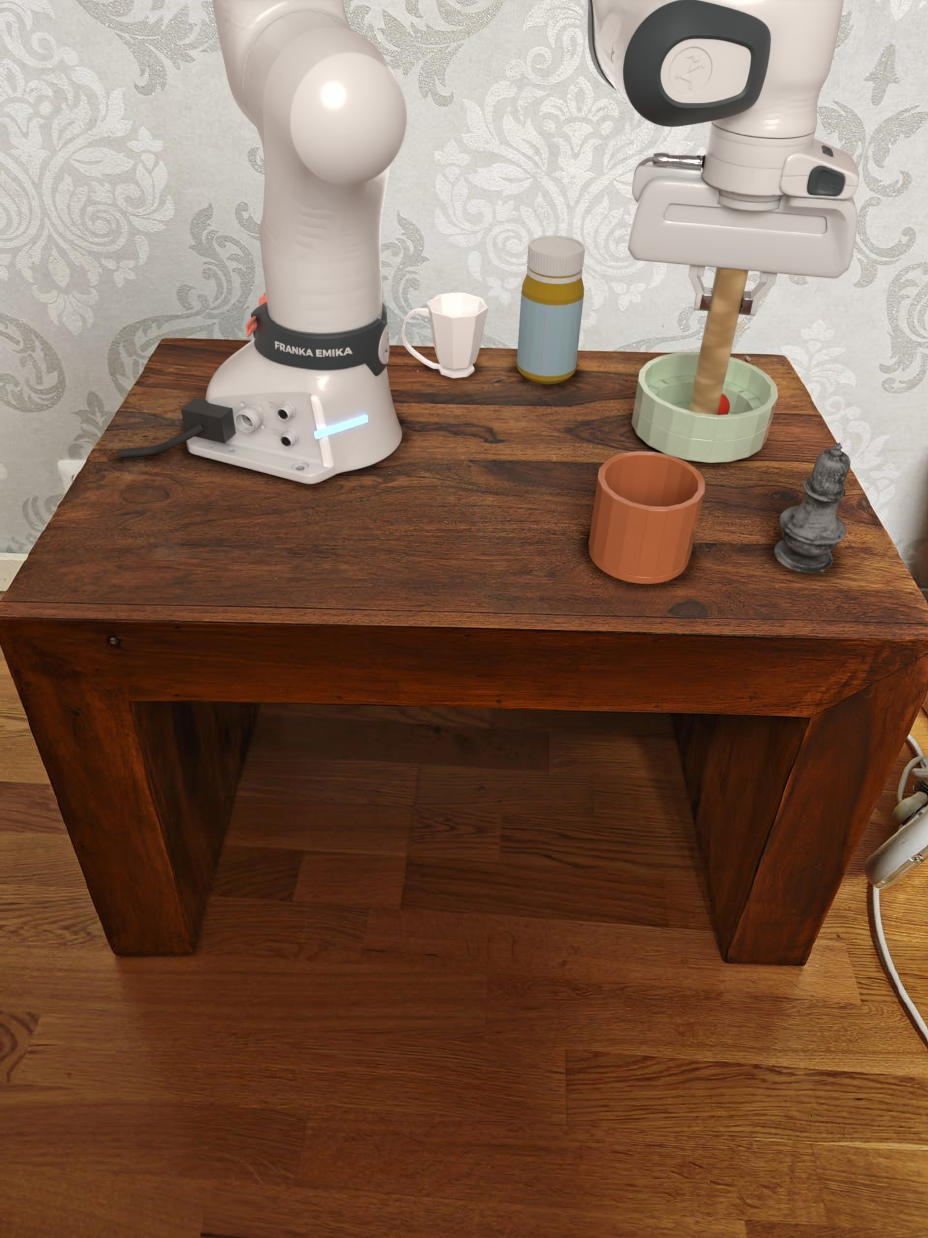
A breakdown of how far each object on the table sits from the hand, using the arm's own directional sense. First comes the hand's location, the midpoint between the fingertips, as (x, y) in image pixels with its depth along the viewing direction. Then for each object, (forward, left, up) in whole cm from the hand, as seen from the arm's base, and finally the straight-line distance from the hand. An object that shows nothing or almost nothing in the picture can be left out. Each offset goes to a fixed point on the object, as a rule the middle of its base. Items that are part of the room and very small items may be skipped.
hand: (724, 310), depth 94 cm
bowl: (0, +2, -15) cm, 15 cm away
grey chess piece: (+10, -18, -15) cm, 25 cm away
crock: (-5, -21, -15) cm, 26 cm away
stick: (0, 0, -12) cm, 12 cm away
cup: (-30, +10, -15) cm, 35 cm away
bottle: (-18, +12, -15) cm, 26 cm away
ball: (+1, +4, -12) cm, 13 cm away
